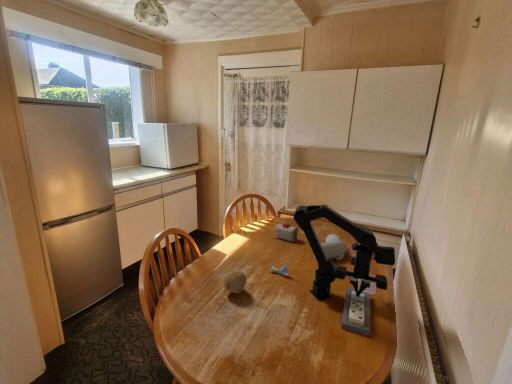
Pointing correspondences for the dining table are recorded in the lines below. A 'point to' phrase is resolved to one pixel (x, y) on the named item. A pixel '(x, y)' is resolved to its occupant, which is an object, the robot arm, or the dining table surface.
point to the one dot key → (354, 297)
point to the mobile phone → (372, 286)
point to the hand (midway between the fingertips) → (357, 295)
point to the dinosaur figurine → (280, 269)
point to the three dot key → (356, 306)
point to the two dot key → (356, 317)
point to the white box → (286, 232)
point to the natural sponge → (235, 281)
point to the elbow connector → (334, 247)
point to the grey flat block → (366, 328)
